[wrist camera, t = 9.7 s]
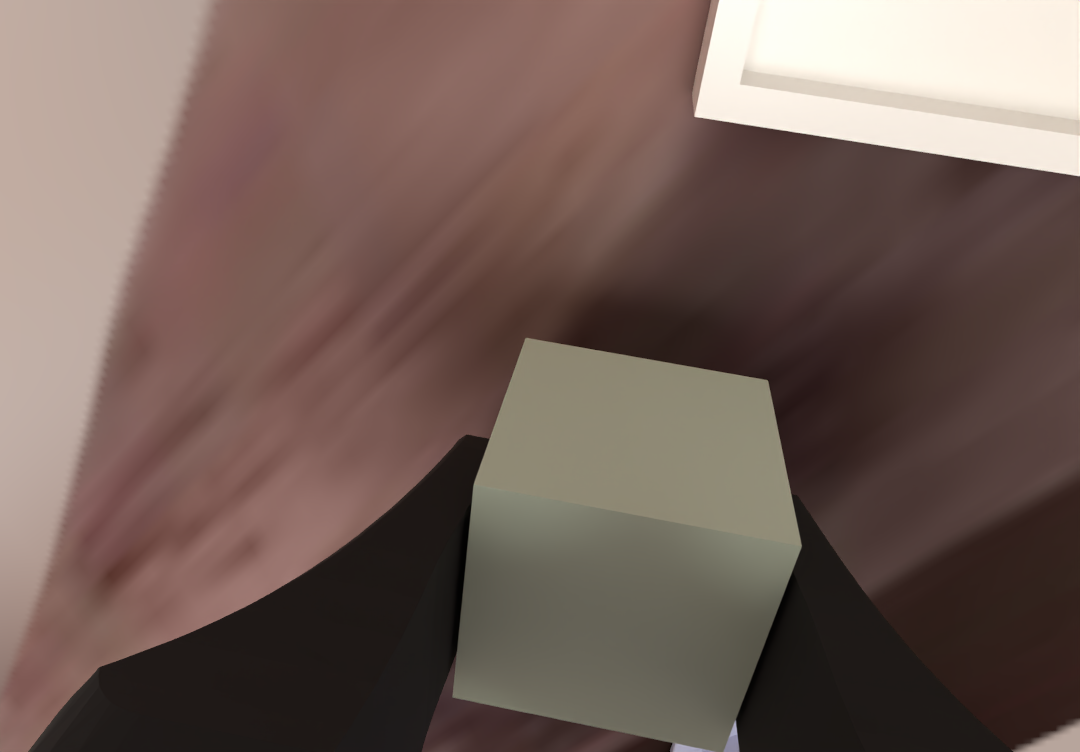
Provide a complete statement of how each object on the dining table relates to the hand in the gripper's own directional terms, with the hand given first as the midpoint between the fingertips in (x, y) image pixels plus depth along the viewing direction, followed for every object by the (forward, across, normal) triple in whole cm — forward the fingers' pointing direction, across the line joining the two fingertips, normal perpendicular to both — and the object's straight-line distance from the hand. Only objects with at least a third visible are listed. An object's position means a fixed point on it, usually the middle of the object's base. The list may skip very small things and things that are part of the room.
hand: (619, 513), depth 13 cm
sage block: (+2, 0, 0) cm, 2 cm away
